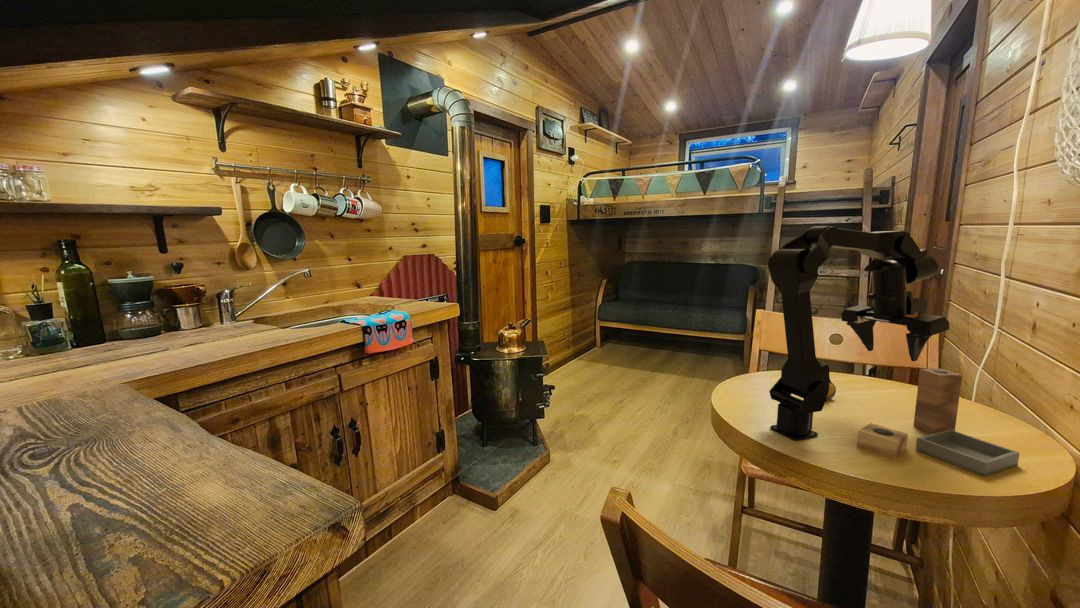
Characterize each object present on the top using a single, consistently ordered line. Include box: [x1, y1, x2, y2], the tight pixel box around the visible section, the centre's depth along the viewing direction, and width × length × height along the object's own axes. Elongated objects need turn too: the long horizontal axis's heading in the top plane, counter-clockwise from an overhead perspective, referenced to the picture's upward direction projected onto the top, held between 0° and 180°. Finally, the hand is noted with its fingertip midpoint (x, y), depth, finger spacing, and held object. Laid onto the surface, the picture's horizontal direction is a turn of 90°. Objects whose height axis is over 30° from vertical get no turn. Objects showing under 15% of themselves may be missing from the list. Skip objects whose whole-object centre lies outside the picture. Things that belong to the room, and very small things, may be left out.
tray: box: [915, 429, 1020, 477], centre depth 77 cm, size 10×10×2 cm
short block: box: [856, 422, 909, 459], centre depth 81 cm, size 6×6×4 cm
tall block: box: [913, 367, 963, 435], centre depth 87 cm, size 4×4×13 cm
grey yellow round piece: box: [825, 381, 837, 401], centre depth 106 cm, size 5×5×10 cm
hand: (891, 355), depth 93 cm, fingers open, 9 cm apart
